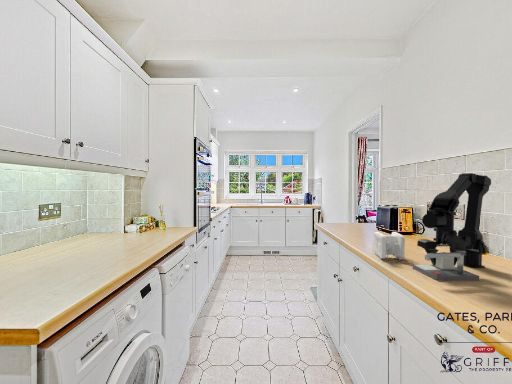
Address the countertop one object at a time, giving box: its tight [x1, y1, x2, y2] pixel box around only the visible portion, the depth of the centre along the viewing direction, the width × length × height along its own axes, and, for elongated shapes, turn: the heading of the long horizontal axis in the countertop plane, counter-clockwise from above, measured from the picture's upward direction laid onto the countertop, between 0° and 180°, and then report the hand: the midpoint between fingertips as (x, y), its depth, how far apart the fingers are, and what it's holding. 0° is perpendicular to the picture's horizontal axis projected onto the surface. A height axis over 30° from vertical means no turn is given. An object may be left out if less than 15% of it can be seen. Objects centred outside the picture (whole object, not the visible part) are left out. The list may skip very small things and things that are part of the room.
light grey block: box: [435, 251, 454, 269], centre depth 103 cm, size 4×4×6 cm
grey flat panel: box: [412, 264, 480, 281], centre depth 100 cm, size 16×14×2 cm
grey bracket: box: [424, 250, 466, 274], centre depth 94 cm, size 3×16×9 cm, turn 99°
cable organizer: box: [373, 231, 406, 261], centre depth 124 cm, size 15×11×12 cm
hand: (443, 265), depth 103 cm, fingers open, 8 cm apart
